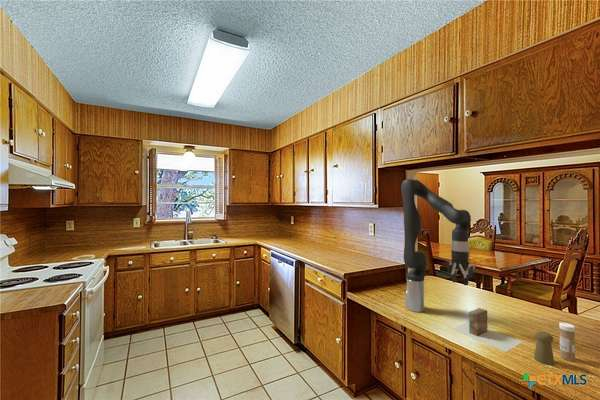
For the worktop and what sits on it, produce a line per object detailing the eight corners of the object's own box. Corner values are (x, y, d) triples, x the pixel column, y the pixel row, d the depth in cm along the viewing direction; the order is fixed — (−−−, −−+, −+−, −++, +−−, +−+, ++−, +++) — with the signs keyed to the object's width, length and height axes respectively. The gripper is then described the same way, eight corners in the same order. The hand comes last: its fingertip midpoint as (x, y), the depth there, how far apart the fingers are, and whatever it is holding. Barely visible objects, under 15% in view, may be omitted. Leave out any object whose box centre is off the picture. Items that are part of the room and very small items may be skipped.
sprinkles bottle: (578, 362, 104) (578, 327, 104) (565, 361, 105) (565, 326, 105) (569, 355, 109) (568, 322, 109) (556, 354, 110) (556, 321, 110)
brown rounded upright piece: (533, 360, 106) (533, 332, 106) (534, 354, 110) (534, 327, 110) (554, 367, 101) (554, 338, 101) (555, 360, 105) (554, 332, 105)
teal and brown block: (469, 333, 126) (469, 311, 126) (479, 328, 131) (479, 307, 131) (477, 336, 123) (477, 314, 123) (487, 331, 128) (487, 310, 128)
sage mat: (450, 329, 131) (450, 328, 131) (469, 322, 139) (469, 321, 139) (505, 353, 111) (505, 352, 111) (523, 342, 119) (523, 341, 119)
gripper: (441, 248, 139) (441, 281, 139) (470, 252, 127) (470, 289, 127) (450, 246, 143) (450, 278, 143) (479, 251, 130) (479, 286, 130)
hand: (460, 283), depth 135 cm, fingers open, 5 cm apart
